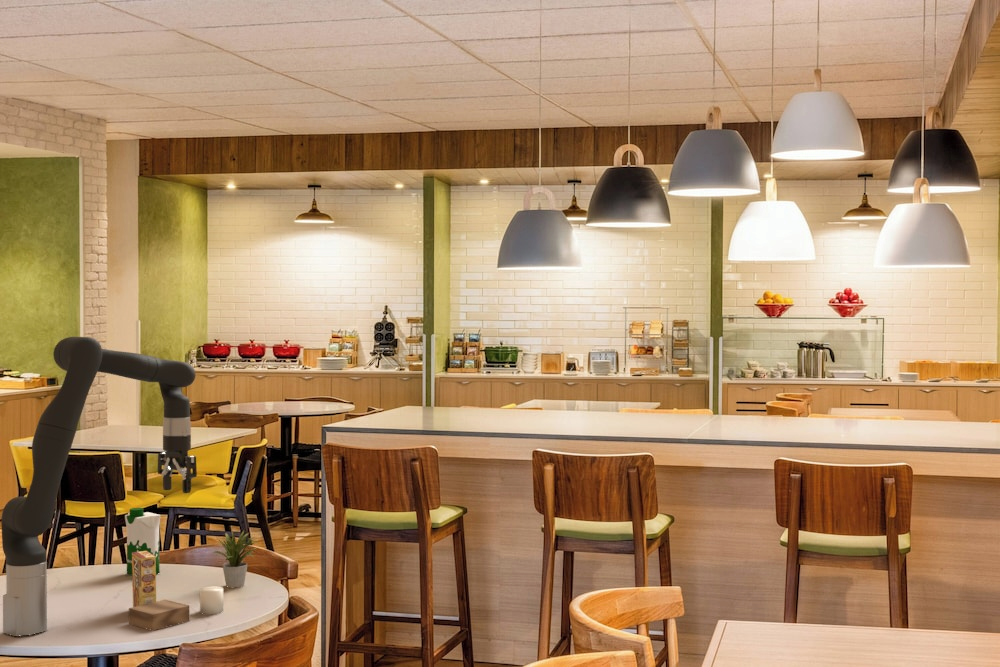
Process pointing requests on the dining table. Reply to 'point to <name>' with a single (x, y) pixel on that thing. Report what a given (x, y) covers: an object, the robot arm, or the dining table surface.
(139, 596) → the candy box
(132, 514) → the milk carton
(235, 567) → the house plant
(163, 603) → the walnut slab
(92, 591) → the dining table surface
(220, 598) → the white cylinder
